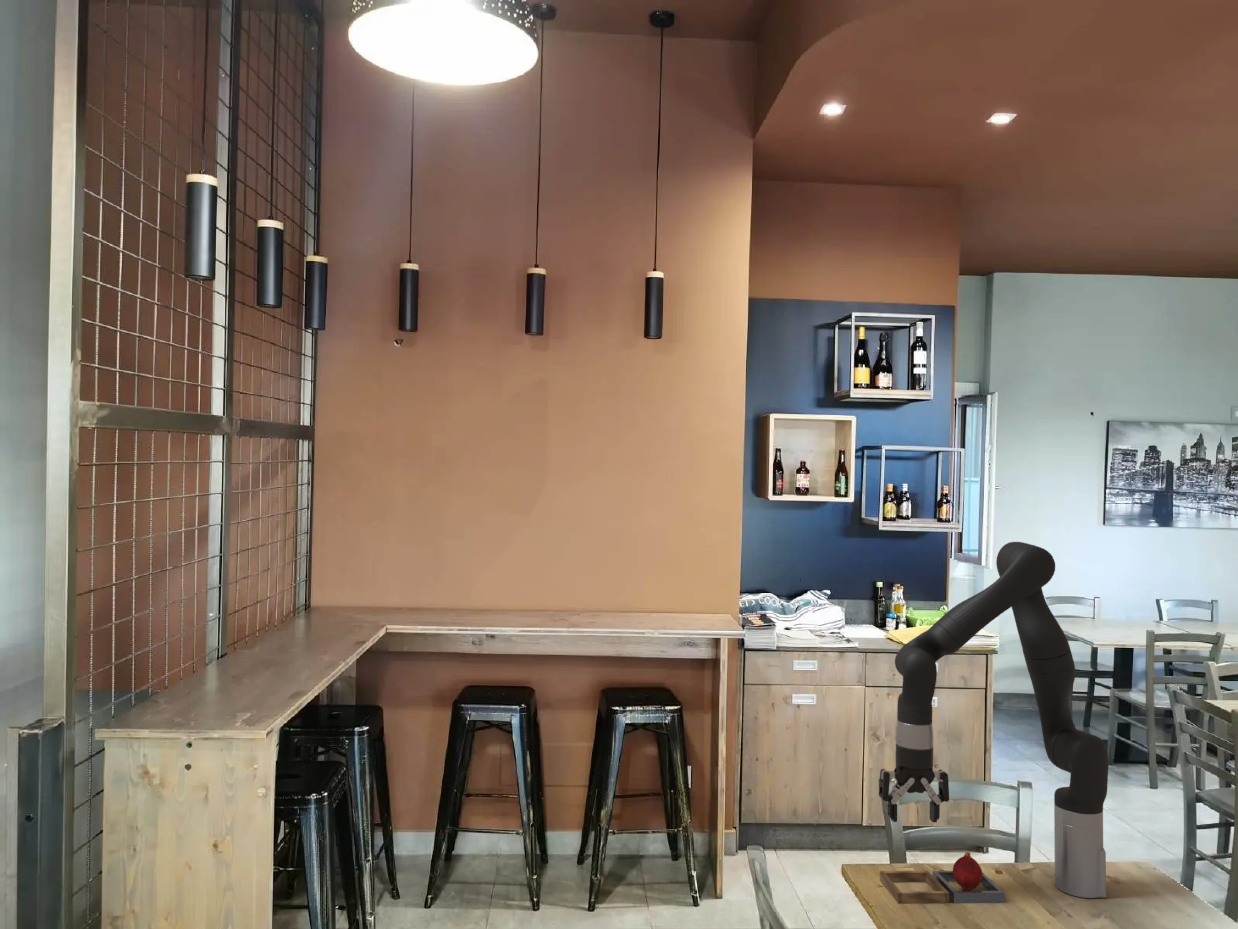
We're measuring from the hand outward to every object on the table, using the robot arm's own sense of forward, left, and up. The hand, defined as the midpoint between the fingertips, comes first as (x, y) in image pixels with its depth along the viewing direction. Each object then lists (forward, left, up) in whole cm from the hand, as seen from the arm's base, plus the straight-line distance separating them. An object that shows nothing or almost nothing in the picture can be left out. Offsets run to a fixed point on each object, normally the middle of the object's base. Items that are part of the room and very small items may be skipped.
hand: (913, 821), depth 183 cm
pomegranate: (-11, -5, -15) cm, 19 cm away
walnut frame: (0, 0, -15) cm, 15 cm away
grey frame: (-11, -5, -15) cm, 19 cm away
